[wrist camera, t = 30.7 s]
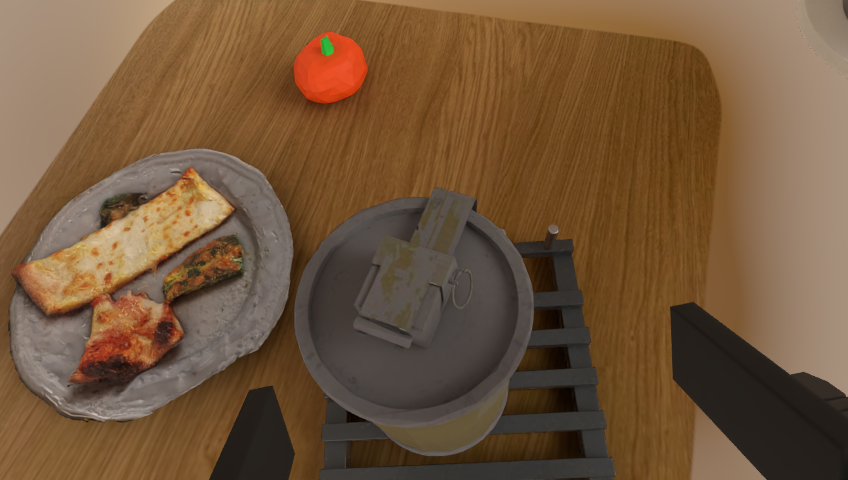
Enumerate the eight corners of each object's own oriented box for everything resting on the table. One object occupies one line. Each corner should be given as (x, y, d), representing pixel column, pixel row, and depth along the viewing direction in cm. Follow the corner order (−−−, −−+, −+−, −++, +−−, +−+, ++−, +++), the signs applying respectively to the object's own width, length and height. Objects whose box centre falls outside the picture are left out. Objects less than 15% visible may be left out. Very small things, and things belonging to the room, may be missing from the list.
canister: (481, 481, 34) (491, 467, 16) (343, 422, 37) (221, 355, 19) (527, 333, 38) (576, 193, 21) (401, 289, 41) (346, 130, 23)
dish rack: (566, 252, 44) (579, 221, 39) (619, 550, 34) (645, 559, 29) (337, 267, 45) (321, 239, 40) (325, 559, 35) (300, 570, 30)
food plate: (58, 481, 39) (21, 480, 36) (2, 252, 49) (-30, 236, 46) (343, 308, 43) (333, 294, 40) (240, 130, 53) (225, 107, 50)
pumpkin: (288, 105, 54) (267, 58, 48) (327, 53, 57) (311, 3, 51) (346, 125, 52) (330, 80, 46) (383, 71, 55) (373, 22, 49)
